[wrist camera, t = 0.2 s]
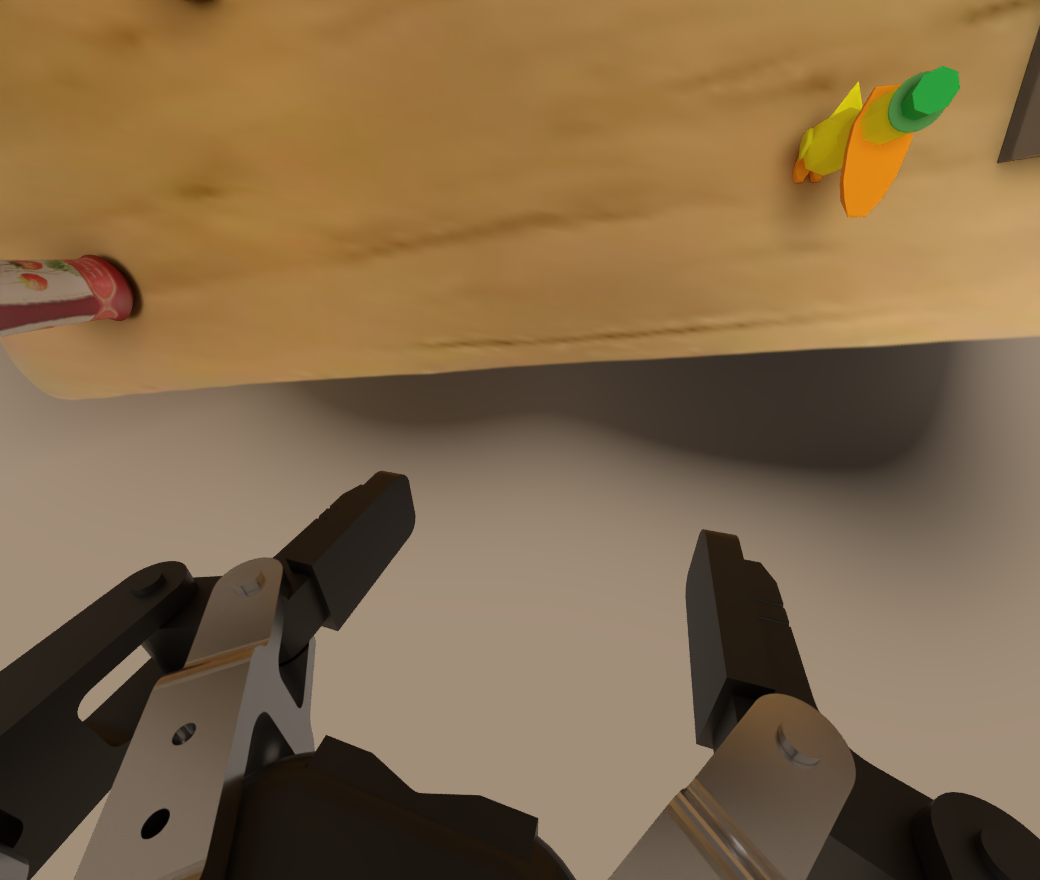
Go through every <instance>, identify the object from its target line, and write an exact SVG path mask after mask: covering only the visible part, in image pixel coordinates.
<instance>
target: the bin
mask: <svg viewBox="0 0 1040 880" xmlns="http://www.w3.org/2000/svg"><path fill="white" fill-rule="evenodd" d="M1039 156H1040V28H1039V31H1038V34H1037V38H1036V41H1035V44H1034V47H1033V50H1032V54H1031V57H1030V60H1029V63H1028V66H1027V70H1026V73H1025V76H1024V79H1023V82H1022V86H1021V89H1020V92H1019V95H1018V98H1017V102H1016V105H1015V108H1014V111H1013V114H1012V118H1011V121H1010V124H1009V127H1008V130H1007V134H1006V137H1005V140H1004V143H1003V146H1002V150H1001V153H1000V156H999V159H998V162H997V163H1001V162H1008V161H1014V160H1020V159H1027V158H1033V157H1039Z"/></svg>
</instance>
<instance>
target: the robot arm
mask: <svg viewBox="0 0 1040 880" xmlns="http://www.w3.org/2000/svg"><path fill="white" fill-rule="evenodd" d="M414 525H415V511H414V506H413V501H412V495H411V490H410V485H409V480H408V478H407V477H406V476H405V475H402V474H397V473H391V472H386V471H379V472H377V473H376V474H375V475H374V476H373V477H371V478H370V479H369V480H368V481H367V482H366V483H365V484H364V485H359V486H357V487H355V488H354V489H352V490H350V491H348V492H346V493H344V494H343V495H342V496H340V497H339V498H338V499H337V500H336V501H335V502H334V503H333V504H332V505H331V506H330V508H329V509H326V510H325V511H324V512H323V513H322V514H321V515H320V516H319V518H318V519H315V520H314V521H313V522H312V523H311V524H310V525H309V526H308V527H307V528H305V529H304V530H303V531H302V532H301V533H300V534H299V535H298V536H297V537H295V538H294V539H293V540H292V541H291V542H290V543H289V544H288V545H287V546H286V547H284V548H283V549H282V550H281V551H280V552H279V553H278V554H277V555H276V556H274V557H273V558H257V559H253V560H250V561H247V562H244V563H242V564H240V565H238V566H236V567H234V568H233V569H231V570H230V571H228V572H227V573H226V574H224V575H223V576H215V577H196V578H193V577H192V575H191V574H190V572H189V570H188V569H187V568H186V566H185V565H184V564H183V563H181V562H176V561H168V562H162V563H158V564H155V565H151V566H149V567H146V568H144V569H142V570H140V571H138V572H136V573H134V574H132V575H131V576H129V577H128V578H126V579H125V580H124V581H122V582H121V583H120V584H118V585H117V586H115V587H114V588H113V589H111V590H110V591H109V592H107V593H106V594H105V595H103V596H102V597H101V598H99V599H98V600H96V601H95V602H94V603H93V604H91V605H90V606H88V607H87V608H86V609H84V610H83V611H82V612H80V613H79V614H78V615H76V616H75V617H73V618H72V619H71V620H69V621H68V622H67V623H65V624H64V625H63V626H61V627H60V628H59V629H57V630H56V631H54V632H53V633H52V634H51V635H49V636H48V637H46V638H45V639H44V640H42V641H41V642H40V643H38V644H37V645H35V646H34V647H33V648H32V649H30V650H29V651H28V652H26V653H25V654H23V655H22V656H21V657H19V658H18V659H17V660H15V661H14V662H13V663H11V664H10V665H8V666H7V667H6V668H4V669H3V670H2V671H0V880H30V879H31V878H32V877H33V876H34V875H35V874H36V873H37V871H38V870H39V869H40V868H41V867H42V866H43V865H44V864H45V862H46V861H47V860H48V859H49V858H50V857H51V856H52V855H53V853H54V852H55V851H56V850H57V849H58V848H59V847H60V846H61V844H62V843H63V842H64V841H65V840H66V839H67V838H68V836H69V835H70V834H71V833H72V832H73V831H74V830H75V829H76V828H77V826H78V825H79V824H80V823H81V822H82V821H83V820H84V819H85V817H86V816H87V815H88V814H89V813H90V812H91V810H93V808H94V807H95V806H96V805H97V804H98V803H99V802H100V801H101V800H102V798H103V797H104V796H105V795H106V794H107V793H108V792H109V791H110V789H111V791H110V793H109V796H108V798H107V800H106V803H105V805H104V808H103V810H102V812H101V815H100V817H99V820H98V822H97V824H96V827H95V829H94V832H93V834H92V836H91V839H90V841H89V844H88V846H87V849H86V851H85V853H84V856H83V858H82V861H81V863H80V865H79V868H78V870H77V873H76V875H75V877H74V880H576V879H575V877H574V876H573V875H572V873H571V872H570V870H569V869H568V867H567V866H566V865H565V863H564V862H563V860H562V859H561V858H560V857H559V856H558V855H557V854H556V853H555V851H554V850H553V849H552V848H551V847H550V846H549V845H548V844H547V843H545V842H544V841H543V840H542V839H541V838H540V837H538V818H536V817H534V816H531V815H529V814H526V813H523V812H521V811H518V810H516V809H513V808H511V807H508V806H505V805H503V804H500V803H498V802H496V801H493V800H490V799H488V798H485V797H483V796H480V795H455V794H425V793H417V792H415V791H414V790H412V789H411V788H410V787H409V786H407V784H405V783H404V782H403V781H402V780H401V779H400V778H399V777H398V776H397V775H396V774H395V773H393V772H392V771H391V770H390V769H389V768H388V767H387V766H386V765H385V764H384V763H383V762H381V761H380V760H379V759H378V758H377V757H376V756H375V755H374V754H373V753H371V752H368V751H365V750H363V749H361V748H358V747H355V746H353V745H350V744H348V743H345V742H343V741H340V740H338V739H335V738H332V737H330V736H327V735H326V736H325V738H324V739H323V741H322V742H321V744H320V746H319V747H318V749H317V750H316V751H314V750H315V749H314V739H313V733H312V729H311V723H310V708H311V696H312V683H313V671H314V658H315V646H316V640H315V637H314V634H315V633H316V632H317V631H318V629H319V628H320V627H321V626H323V627H327V628H330V629H333V630H336V631H339V629H340V628H341V627H342V625H343V624H344V623H345V621H346V620H347V619H348V617H349V616H350V615H351V613H352V612H353V611H354V609H355V608H356V607H357V605H358V604H359V603H360V601H361V600H362V599H363V598H364V596H365V595H366V594H367V592H368V591H369V590H370V588H371V587H372V586H373V584H374V583H375V582H376V580H377V579H378V578H379V576H380V575H381V573H382V572H383V571H384V570H385V568H386V567H387V566H388V564H389V563H390V562H391V560H392V559H393V558H394V556H395V555H396V554H397V553H398V551H399V550H400V548H401V547H402V546H403V544H404V543H405V542H406V541H407V539H408V538H409V537H410V535H411V533H412V531H413V529H414ZM686 609H687V623H688V637H689V650H690V663H691V678H692V691H693V705H694V718H695V730H696V731H695V732H696V744H698V745H701V746H705V747H708V748H711V749H713V750H714V754H713V756H712V757H711V758H710V759H709V761H708V762H707V763H706V765H705V766H704V767H703V768H702V770H701V771H700V772H699V773H698V775H697V776H696V777H695V778H694V780H693V781H692V782H691V783H690V784H689V785H688V786H687V787H686V788H685V789H682V790H681V791H680V792H679V793H678V794H677V795H676V796H675V797H674V798H673V799H672V800H671V802H670V803H669V804H668V805H667V806H666V808H665V809H664V810H663V811H662V813H661V814H660V815H659V816H658V818H657V819H656V820H655V821H654V823H653V824H652V825H651V826H650V828H649V829H648V830H647V831H646V833H645V834H644V835H643V836H642V838H641V839H640V840H639V841H638V843H637V844H636V845H635V846H634V848H633V849H632V850H631V851H630V853H629V854H628V855H627V856H626V858H625V859H624V860H623V861H622V863H621V864H620V865H619V866H618V867H617V869H616V870H615V871H614V872H613V874H612V875H611V876H610V877H609V879H608V880H1040V839H1039V838H1038V837H1036V836H1035V835H1034V834H1033V833H1032V832H1031V831H1030V830H1028V829H1027V828H1026V827H1025V826H1024V825H1022V824H1021V823H1020V822H1018V821H1017V820H1016V819H1014V818H1013V817H1012V816H1010V815H1009V814H1007V813H1006V812H1004V811H1003V810H1001V809H999V808H998V807H996V806H994V805H992V804H990V803H988V802H987V801H985V800H982V799H980V798H977V797H975V796H972V795H968V794H964V793H958V792H950V793H945V794H942V795H940V796H938V797H937V798H936V799H934V800H933V799H931V798H929V797H927V796H926V795H924V794H922V793H920V792H919V791H917V790H915V789H913V788H912V787H910V786H908V785H906V784H905V783H903V782H901V781H899V780H898V779H896V778H894V777H892V776H890V775H889V774H887V773H885V772H884V771H882V770H880V769H878V768H877V767H875V766H873V765H872V764H870V763H869V762H867V761H865V760H864V759H863V758H861V757H860V756H859V755H857V754H856V753H855V752H853V751H852V750H851V749H850V748H849V747H848V745H847V744H846V742H845V740H844V739H843V737H842V736H841V734H840V733H839V732H838V730H837V729H836V728H835V727H834V726H833V725H832V723H831V722H830V721H829V720H828V719H827V718H826V717H824V716H823V715H822V714H821V713H820V712H819V710H818V708H817V706H816V704H815V701H814V698H813V696H812V692H811V689H810V686H809V683H808V680H807V677H806V673H805V670H804V667H803V664H802V661H801V658H800V655H799V651H798V648H797V645H796V642H795V639H794V636H793V633H792V630H791V627H789V620H788V617H787V614H786V611H785V609H784V608H783V601H782V598H781V595H780V592H779V589H778V586H777V583H776V581H775V580H774V579H773V578H772V576H771V575H770V574H769V573H768V571H767V570H766V569H765V568H764V566H763V565H762V564H761V563H760V562H754V561H750V560H744V558H743V554H742V550H741V546H740V542H739V539H738V537H737V536H736V535H732V534H726V533H720V532H715V531H709V530H704V529H703V530H701V532H700V534H699V537H698V541H697V544H696V548H695V551H694V555H693V558H692V562H691V565H690V568H689V571H688V576H687V582H686ZM140 645H142V646H143V648H144V649H145V650H146V651H147V652H148V654H149V655H150V656H151V657H152V658H151V659H150V660H148V661H147V662H146V663H145V664H144V665H143V666H142V667H141V668H140V669H139V670H138V671H137V672H136V673H135V674H134V675H132V676H131V677H130V678H129V679H128V680H127V681H126V682H125V683H124V684H123V685H122V686H121V687H120V688H119V689H118V690H117V691H116V692H114V693H113V694H112V696H110V697H109V698H108V699H107V700H106V701H105V702H104V703H103V704H102V705H101V706H100V707H99V708H98V709H96V710H95V711H94V712H93V713H92V714H91V715H90V716H89V717H88V718H87V719H86V720H84V721H83V722H82V721H81V720H80V719H79V718H78V714H77V711H78V707H79V704H80V702H81V701H82V699H83V698H84V696H85V695H86V694H87V693H88V692H89V691H90V690H91V689H92V688H93V687H94V686H95V685H96V684H97V683H98V682H99V681H100V680H102V679H103V678H104V677H105V676H106V675H107V674H108V673H109V672H110V671H112V670H113V669H114V668H115V667H116V666H117V665H118V664H120V663H121V662H122V661H123V660H124V659H125V658H126V657H127V656H128V655H130V654H131V653H132V652H133V651H134V650H135V649H136V648H137V647H138V646H140Z"/></svg>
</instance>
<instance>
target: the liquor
mask: <svg viewBox="0 0 1040 880" xmlns="http://www.w3.org/2000/svg"><path fill="white" fill-rule="evenodd" d="M133 303H134V293H133V289H132V287H131V285H130V283H129V281H128V280H127V278H126V277H125V276H124V275H123V274H122V273H121V272H120V271H119V270H117V269H116V268H115V267H113V266H112V265H110V264H109V263H108V262H106V261H105V260H103V259H102V258H100V257H98V256H95V255H84V256H82V257H81V258H79V259H78V260H0V337H3V336H8V335H13V334H18V333H23V332H29V331H35V330H40V329H46V328H52V327H57V326H63V325H69V324H75V323H81V322H87V321H93V320H99V319H105V318H109V319H112V320H116V321H122V320H125V319H126V318H128V316H129V315H130V313H131V309H132V306H133Z"/></svg>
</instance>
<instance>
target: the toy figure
mask: <svg viewBox="0 0 1040 880" xmlns="http://www.w3.org/2000/svg"><path fill="white" fill-rule="evenodd" d="M959 89H960V85H959V77H958V71H956V70H953V69H950V68H947V67H944V66H941V67H939V68H937V69H935V70H933V71H927V72H923V73H919V74H917V75H915V76H913V77H911V78H910V79H908V80H907V81H905V82H904V83H903V84H896V85H888V86H879V87H875V88H874V89H873V91H872V93H871V94H870V96H869V98H868V99H867V101H866V102H865V104H864V106H863V107H862V100H861V94H860V87H859V81H858V82H857V84H856V85H855V86H854V88H853V89H852V90H851V91H850V93H849V94H848V95H847V96H846V98H845V99H844V100H843V102H842V103H841V104H840V105H839V107H838V108H837V109H836V111H835V112H834V113H833V114H832V116H831V117H830V118H828V119H826V120H824V121H823V122H821V123H819V124H818V125H816V126H815V127H814V129H813V128H810V129H808V130H807V131H806V132H805V133H804V134H803V136H802V140H801V143H800V147H799V156H798V158H797V161H796V163H795V165H794V169H793V182H794V183H802V182H803V181H804V179H805V178H806V177H807V175H808V174H809V175H810V181H811V182H819V181H821V179H822V178H823V176H824V175H826V174H829V173H832V172H835V171H837V170H839V169H841V168H842V171H841V178H840V199H841V203H842V205H843V207H844V210H845V212H846V214H847V217H864V216H866V215H867V214H868V213H869V212H870V211H871V210H872V209H873V208H874V207H875V205H876V204H877V203H878V202H879V201H880V200H881V199H882V198H883V196H884V195H885V193H886V192H887V190H888V189H889V187H890V185H891V184H892V182H893V181H894V179H895V178H896V175H897V173H898V171H899V168H900V166H901V164H902V161H903V159H904V157H905V155H906V152H907V150H908V148H909V145H910V143H911V139H912V136H913V133H914V132H916V131H919V130H921V129H923V128H925V127H927V126H928V125H930V124H931V123H933V122H934V121H935V120H936V119H937V118H938V117H939V116H940V115H941V113H942V112H943V110H944V109H945V107H947V106H948V105H949V104H950V102H951V101H952V99H953V98H954V96H955V95H956V93H957V92H958V90H959Z"/></svg>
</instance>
